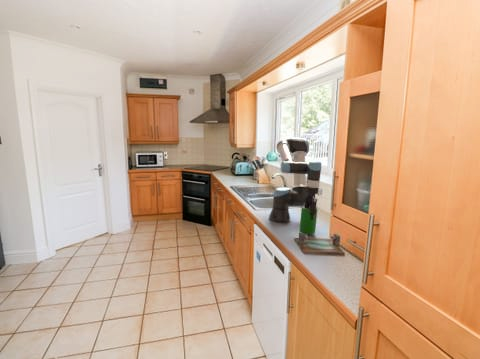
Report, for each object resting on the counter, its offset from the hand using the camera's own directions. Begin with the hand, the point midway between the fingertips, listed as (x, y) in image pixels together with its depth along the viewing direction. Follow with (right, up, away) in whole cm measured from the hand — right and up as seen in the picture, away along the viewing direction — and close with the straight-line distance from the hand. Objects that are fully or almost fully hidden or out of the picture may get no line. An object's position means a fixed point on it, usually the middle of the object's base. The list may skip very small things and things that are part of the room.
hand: (308, 222), depth 163 cm
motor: (0, -6, +1) cm, 6 cm away
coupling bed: (+1, -11, -18) cm, 21 cm away
